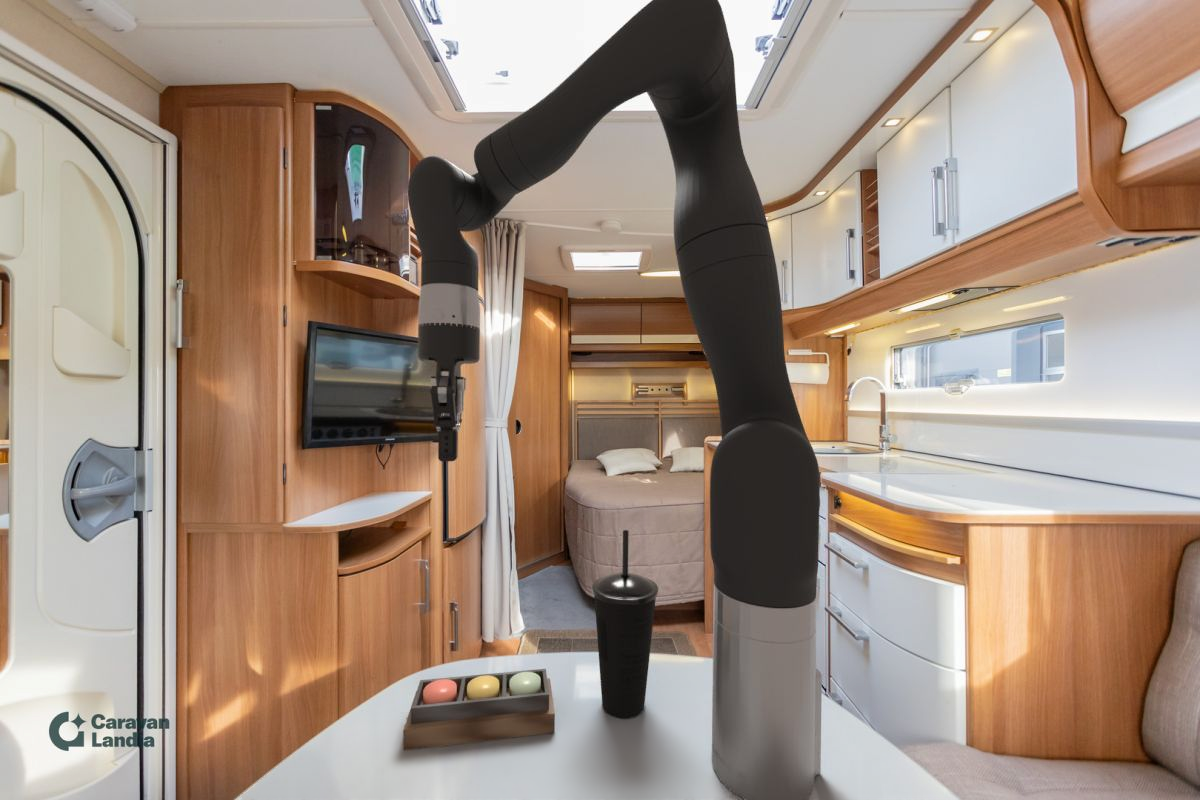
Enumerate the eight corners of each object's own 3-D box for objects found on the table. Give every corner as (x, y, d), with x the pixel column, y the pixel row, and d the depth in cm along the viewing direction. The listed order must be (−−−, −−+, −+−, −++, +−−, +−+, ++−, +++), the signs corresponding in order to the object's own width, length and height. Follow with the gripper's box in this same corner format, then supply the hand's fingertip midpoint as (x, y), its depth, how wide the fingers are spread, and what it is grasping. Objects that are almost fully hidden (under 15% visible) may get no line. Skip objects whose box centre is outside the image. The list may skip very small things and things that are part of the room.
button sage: (539, 684, 54) (539, 670, 54) (541, 703, 51) (541, 688, 51) (509, 687, 54) (509, 673, 54) (509, 706, 50) (509, 691, 50)
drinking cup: (653, 733, 50) (656, 543, 50) (583, 722, 51) (585, 538, 51) (659, 689, 57) (661, 524, 57) (597, 681, 59) (599, 520, 59)
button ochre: (499, 688, 54) (499, 674, 54) (498, 707, 50) (498, 692, 50) (468, 691, 53) (468, 677, 53) (465, 711, 50) (465, 695, 50)
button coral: (458, 692, 53) (458, 677, 53) (454, 712, 49) (454, 696, 49) (426, 695, 52) (426, 680, 52) (420, 715, 49) (420, 700, 49)
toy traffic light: (549, 695, 56) (550, 664, 56) (554, 732, 50) (554, 698, 50) (416, 708, 53) (416, 676, 53) (403, 750, 47) (403, 713, 47)
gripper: (476, 317, 55) (474, 467, 55) (482, 333, 68) (481, 454, 68) (407, 314, 54) (405, 468, 54) (427, 331, 67) (426, 454, 67)
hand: (448, 460), depth 61 cm, fingers closed
